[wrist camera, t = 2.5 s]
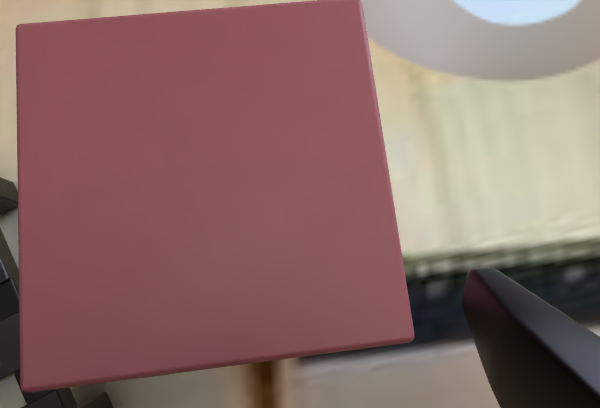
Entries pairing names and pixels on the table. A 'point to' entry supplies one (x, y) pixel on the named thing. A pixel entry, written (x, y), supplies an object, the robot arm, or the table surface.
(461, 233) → the table surface
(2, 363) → the rack
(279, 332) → the pink box
